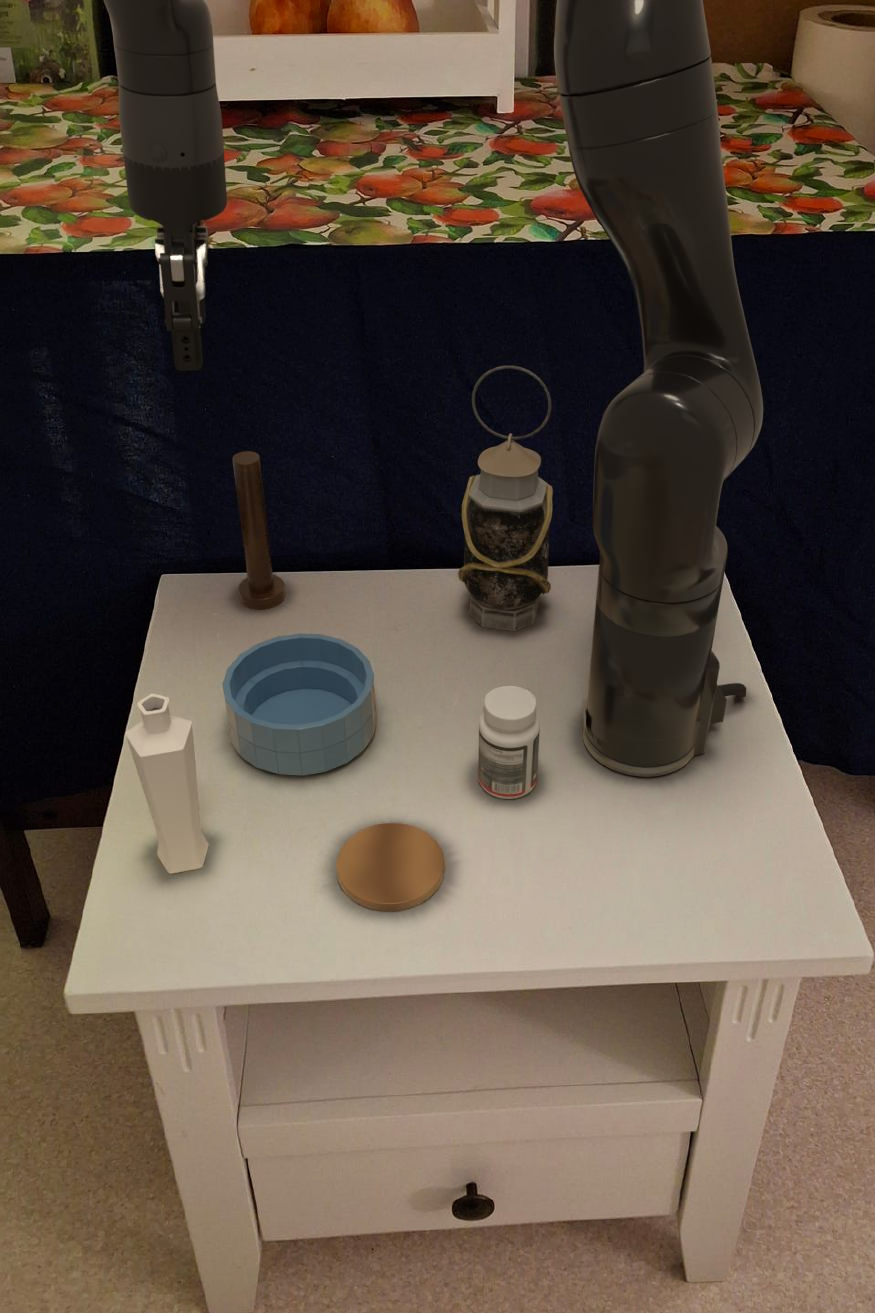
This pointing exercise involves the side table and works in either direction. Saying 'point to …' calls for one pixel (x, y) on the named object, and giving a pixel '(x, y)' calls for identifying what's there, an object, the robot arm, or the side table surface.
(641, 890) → the side table surface
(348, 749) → the bowl
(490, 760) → the pill bottle
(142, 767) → the perfume bottle
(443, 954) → the side table surface
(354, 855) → the coaster
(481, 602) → the lantern
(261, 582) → the brown wooden peg
